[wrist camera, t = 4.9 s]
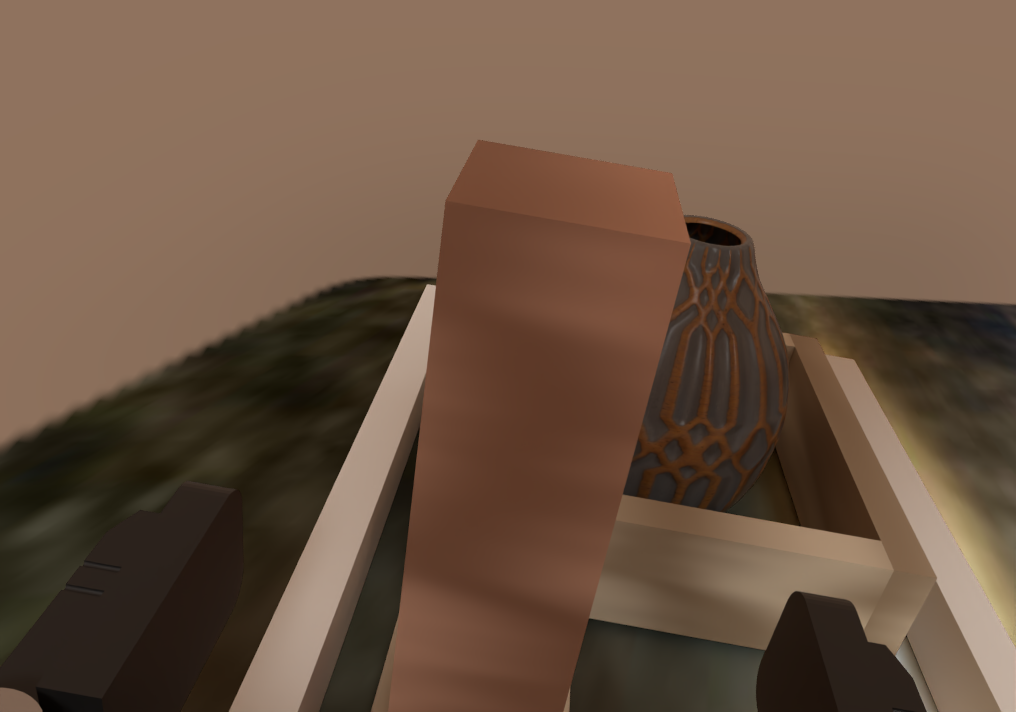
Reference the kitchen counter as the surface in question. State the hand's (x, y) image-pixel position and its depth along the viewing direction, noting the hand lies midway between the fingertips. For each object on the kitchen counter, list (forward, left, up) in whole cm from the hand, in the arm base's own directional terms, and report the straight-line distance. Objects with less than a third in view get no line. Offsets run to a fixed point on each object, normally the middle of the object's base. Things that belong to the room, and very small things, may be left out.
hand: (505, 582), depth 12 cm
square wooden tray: (-4, -9, -7) cm, 12 cm away
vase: (-4, -12, -7) cm, 15 cm away
